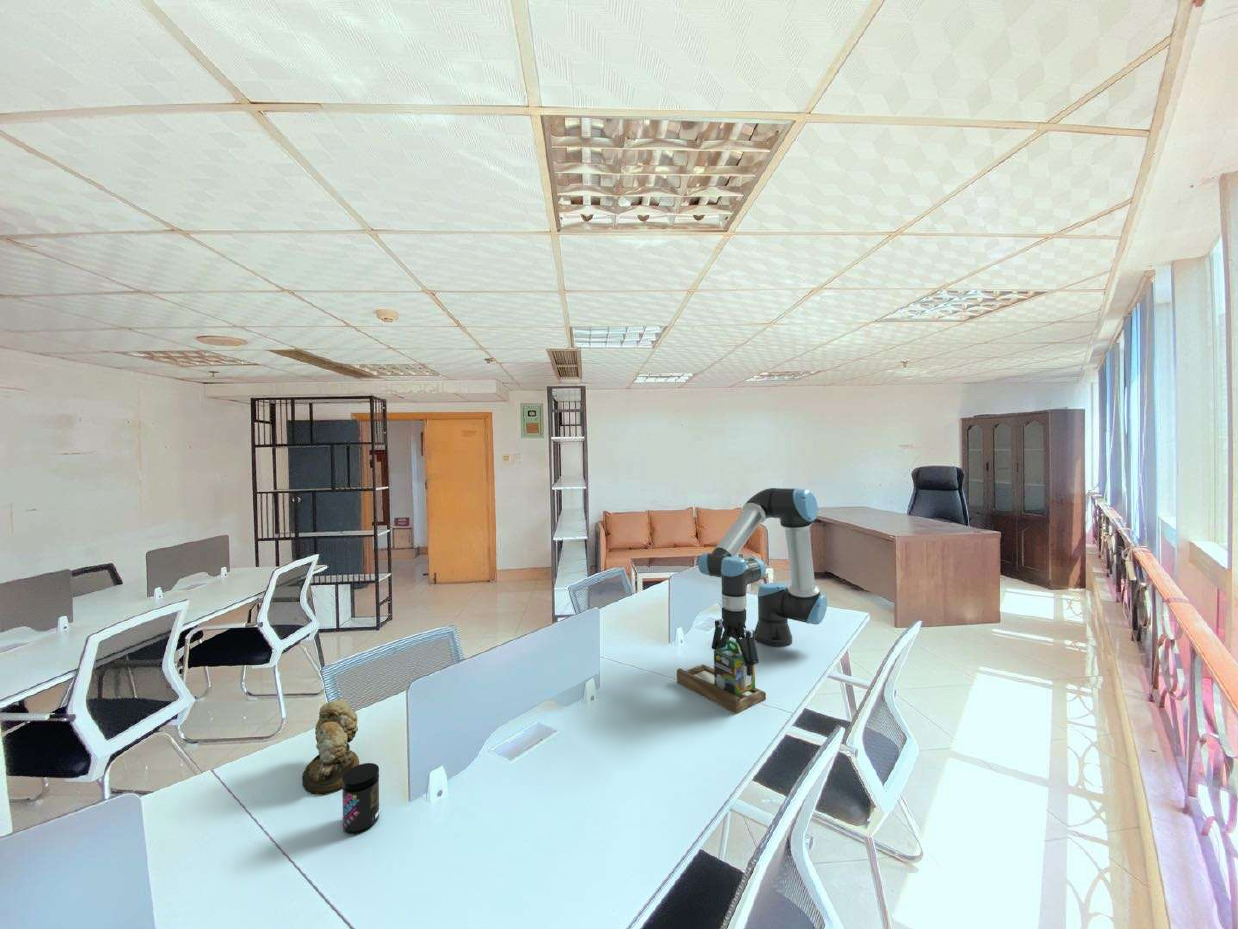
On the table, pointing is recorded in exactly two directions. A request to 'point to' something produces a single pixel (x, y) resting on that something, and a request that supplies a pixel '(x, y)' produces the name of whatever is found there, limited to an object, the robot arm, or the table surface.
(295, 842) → the table surface
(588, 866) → the table surface
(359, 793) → the supplement container
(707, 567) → the robot arm
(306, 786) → the tan statuette
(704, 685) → the brown wooden tray
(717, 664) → the chalk box
